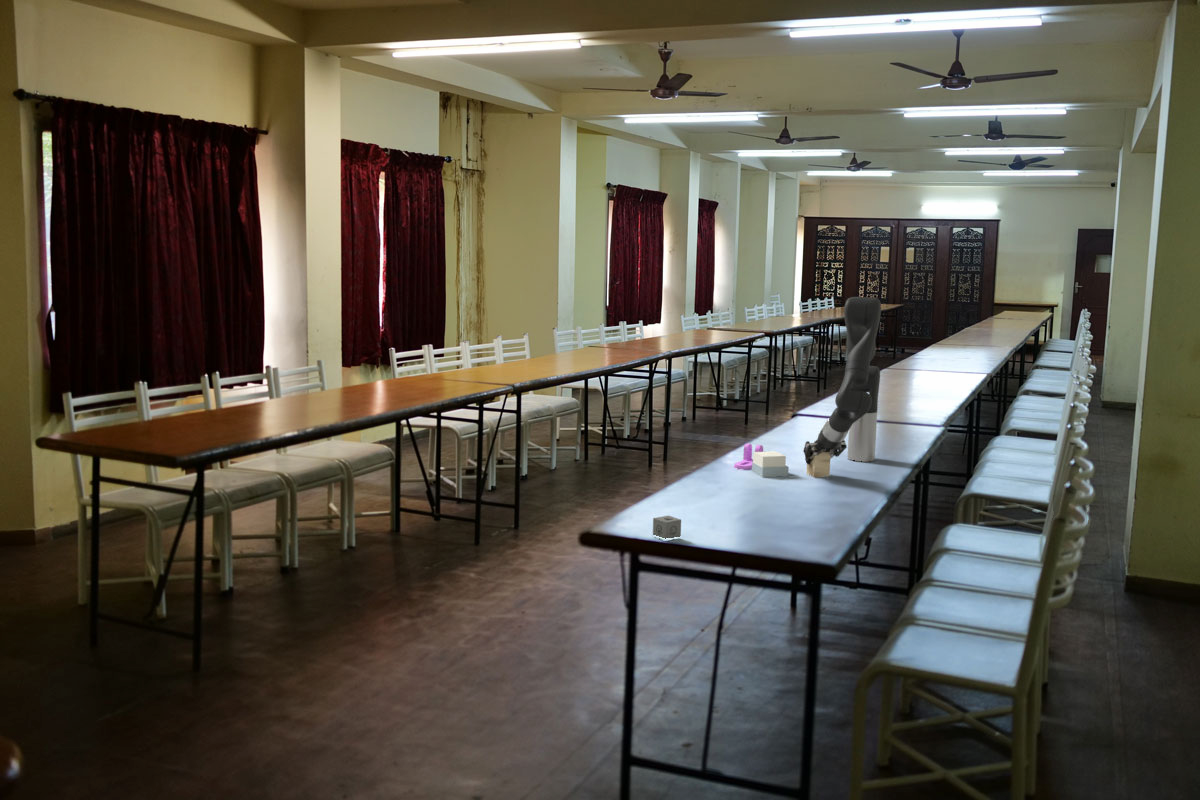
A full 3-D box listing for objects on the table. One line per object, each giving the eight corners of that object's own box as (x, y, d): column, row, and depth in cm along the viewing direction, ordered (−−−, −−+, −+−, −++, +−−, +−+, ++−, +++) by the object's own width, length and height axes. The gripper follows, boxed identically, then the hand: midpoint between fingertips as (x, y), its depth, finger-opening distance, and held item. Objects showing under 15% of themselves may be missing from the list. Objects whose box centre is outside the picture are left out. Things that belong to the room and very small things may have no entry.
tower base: (751, 472, 347) (752, 462, 347) (777, 471, 349) (777, 461, 349) (762, 478, 339) (762, 467, 338) (788, 477, 341) (788, 466, 340)
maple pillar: (806, 473, 344) (807, 443, 343) (821, 473, 346) (823, 443, 344) (813, 477, 339) (815, 447, 338) (829, 476, 341) (830, 446, 339)
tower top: (752, 462, 346) (753, 452, 346) (775, 461, 348) (775, 451, 348) (762, 467, 339) (762, 456, 338) (785, 466, 341) (785, 455, 340)
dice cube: (665, 541, 262) (665, 522, 261) (652, 537, 266) (653, 518, 265) (680, 539, 265) (681, 519, 264) (668, 534, 269) (668, 515, 268)
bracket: (747, 462, 362) (748, 442, 361) (762, 464, 359) (763, 444, 358) (731, 468, 352) (732, 448, 351) (746, 470, 349) (747, 450, 348)
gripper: (851, 421, 334) (832, 451, 348) (809, 422, 331) (792, 452, 344) (858, 441, 330) (839, 470, 343) (816, 442, 327) (798, 472, 340)
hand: (816, 461), depth 344 cm, fingers closed on maple pillar, 5 cm apart
